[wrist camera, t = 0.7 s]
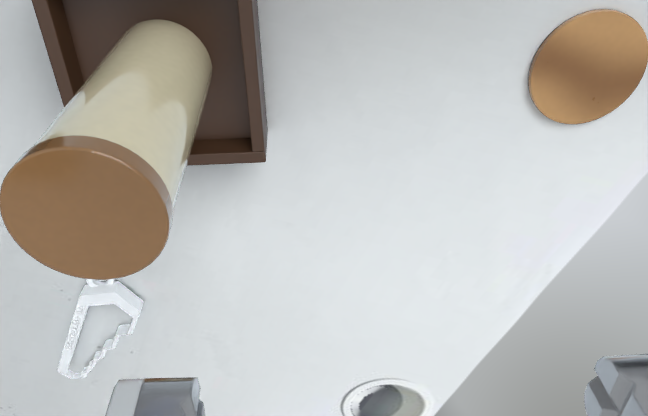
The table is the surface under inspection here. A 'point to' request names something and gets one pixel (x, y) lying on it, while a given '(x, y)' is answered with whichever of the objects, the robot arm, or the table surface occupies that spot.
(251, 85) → the tray
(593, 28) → the coaster
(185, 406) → the robot arm
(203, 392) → the table surface
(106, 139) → the cylindrical canister
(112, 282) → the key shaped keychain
